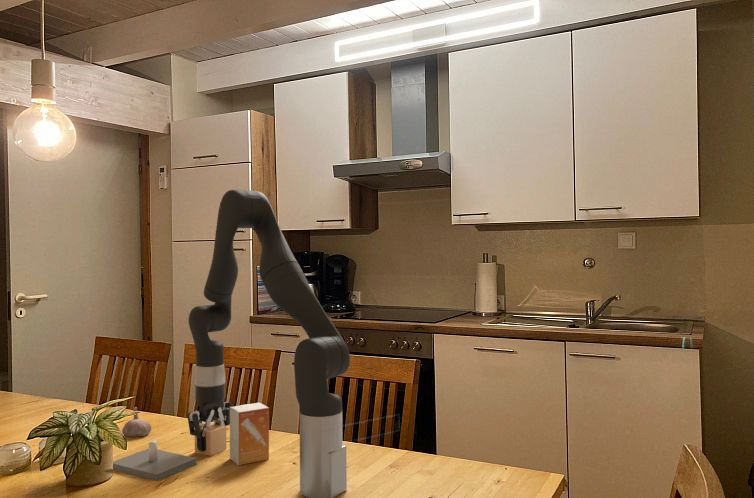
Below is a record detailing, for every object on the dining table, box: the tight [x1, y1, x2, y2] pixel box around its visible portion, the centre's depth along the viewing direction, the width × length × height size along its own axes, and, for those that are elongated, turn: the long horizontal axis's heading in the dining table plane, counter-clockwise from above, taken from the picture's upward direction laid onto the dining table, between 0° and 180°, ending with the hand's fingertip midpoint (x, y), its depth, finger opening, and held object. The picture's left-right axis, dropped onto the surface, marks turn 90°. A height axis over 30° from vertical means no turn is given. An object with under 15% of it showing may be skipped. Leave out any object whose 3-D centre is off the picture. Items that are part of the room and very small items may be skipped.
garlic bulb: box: [121, 406, 152, 437], centre depth 172 cm, size 8×7×8 cm
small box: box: [229, 401, 270, 466], centre depth 152 cm, size 8×6×13 cm
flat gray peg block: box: [112, 439, 197, 482], centre depth 147 cm, size 16×12×6 cm
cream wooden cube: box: [194, 422, 227, 457], centre depth 158 cm, size 6×6×6 cm
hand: (210, 446), depth 158 cm, fingers closed on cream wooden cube, 5 cm apart
